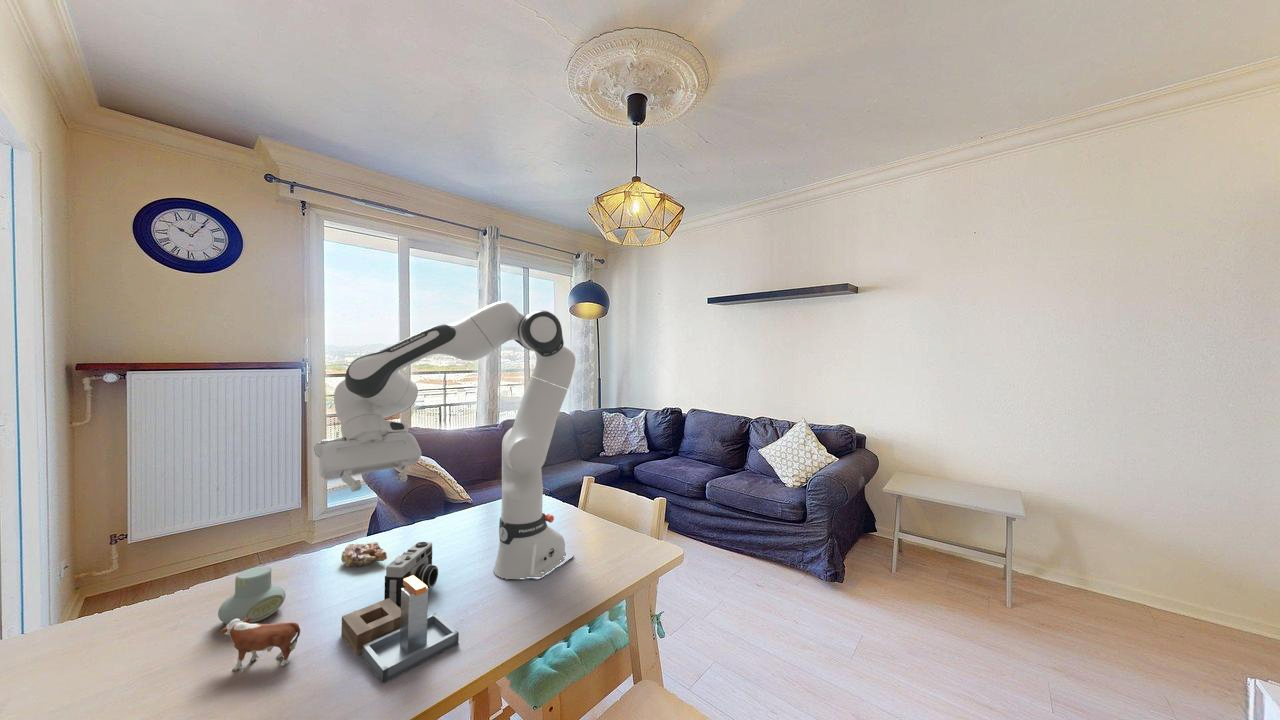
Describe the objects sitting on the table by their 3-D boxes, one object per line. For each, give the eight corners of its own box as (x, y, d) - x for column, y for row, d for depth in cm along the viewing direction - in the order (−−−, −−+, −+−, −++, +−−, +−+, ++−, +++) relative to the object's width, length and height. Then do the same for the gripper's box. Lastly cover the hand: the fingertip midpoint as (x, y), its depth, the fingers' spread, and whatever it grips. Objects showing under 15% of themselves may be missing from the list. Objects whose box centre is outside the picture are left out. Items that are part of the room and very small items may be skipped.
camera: (412, 610, 97) (411, 566, 97) (377, 606, 98) (377, 563, 99) (449, 579, 110) (449, 541, 110) (419, 577, 112) (418, 539, 112)
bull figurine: (230, 656, 81) (231, 613, 81) (304, 653, 82) (305, 611, 82) (209, 672, 77) (210, 628, 77) (288, 670, 78) (289, 626, 78)
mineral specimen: (394, 546, 125) (391, 532, 121) (387, 571, 119) (384, 556, 115) (347, 550, 121) (343, 535, 118) (338, 576, 115) (333, 561, 112)
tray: (435, 623, 92) (435, 612, 92) (458, 643, 86) (458, 632, 86) (362, 657, 81) (362, 645, 81) (382, 683, 75) (383, 670, 75)
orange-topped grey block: (416, 635, 87) (417, 573, 87) (429, 648, 83) (431, 584, 83) (397, 643, 84) (399, 580, 84) (410, 657, 81) (411, 591, 81)
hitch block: (388, 615, 95) (389, 597, 95) (405, 632, 89) (406, 614, 89) (341, 635, 88) (341, 616, 88) (356, 655, 82) (357, 635, 82)
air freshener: (233, 637, 86) (234, 588, 86) (209, 627, 89) (210, 580, 89) (292, 608, 97) (293, 564, 97) (269, 600, 99) (270, 557, 99)
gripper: (315, 432, 91) (328, 487, 85) (414, 423, 107) (431, 468, 101) (309, 450, 94) (321, 504, 88) (406, 438, 110) (422, 483, 104)
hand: (381, 485), depth 94 cm, fingers open, 8 cm apart
